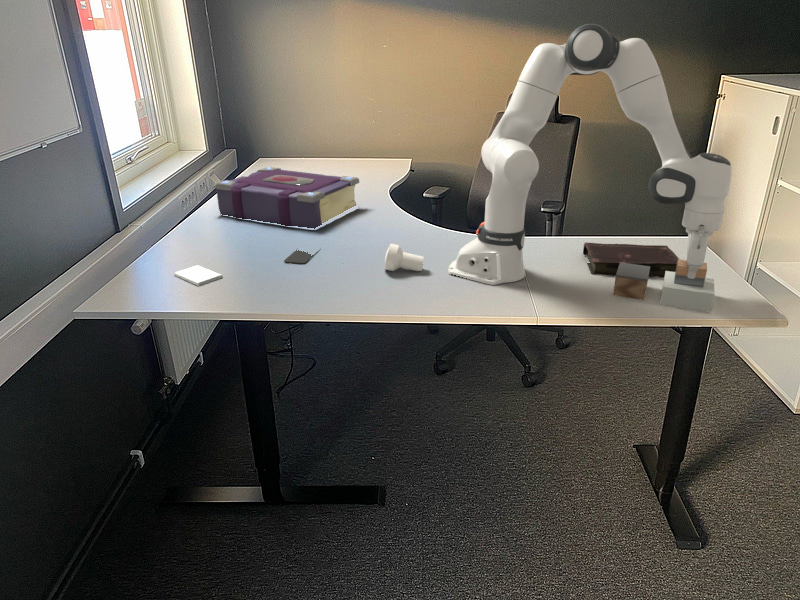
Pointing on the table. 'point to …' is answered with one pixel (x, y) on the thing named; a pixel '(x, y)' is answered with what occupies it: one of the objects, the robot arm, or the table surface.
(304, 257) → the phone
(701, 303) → the grey stand
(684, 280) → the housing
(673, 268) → the diary
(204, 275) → the external hard drive
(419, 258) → the spotlight
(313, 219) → the book
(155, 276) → the table surface
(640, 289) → the walnut stand
